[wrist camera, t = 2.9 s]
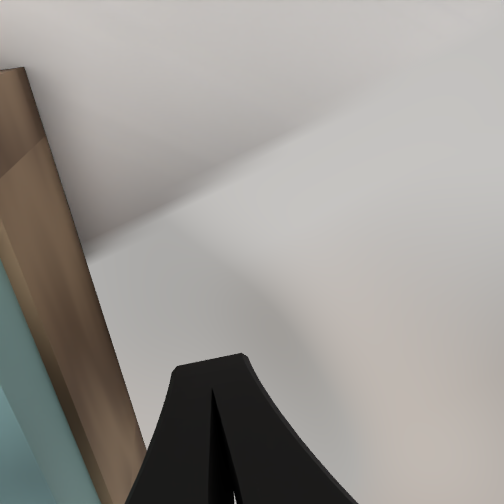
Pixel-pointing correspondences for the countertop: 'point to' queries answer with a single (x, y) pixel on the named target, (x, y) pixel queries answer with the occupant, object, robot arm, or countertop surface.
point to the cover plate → (33, 421)
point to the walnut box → (62, 297)
